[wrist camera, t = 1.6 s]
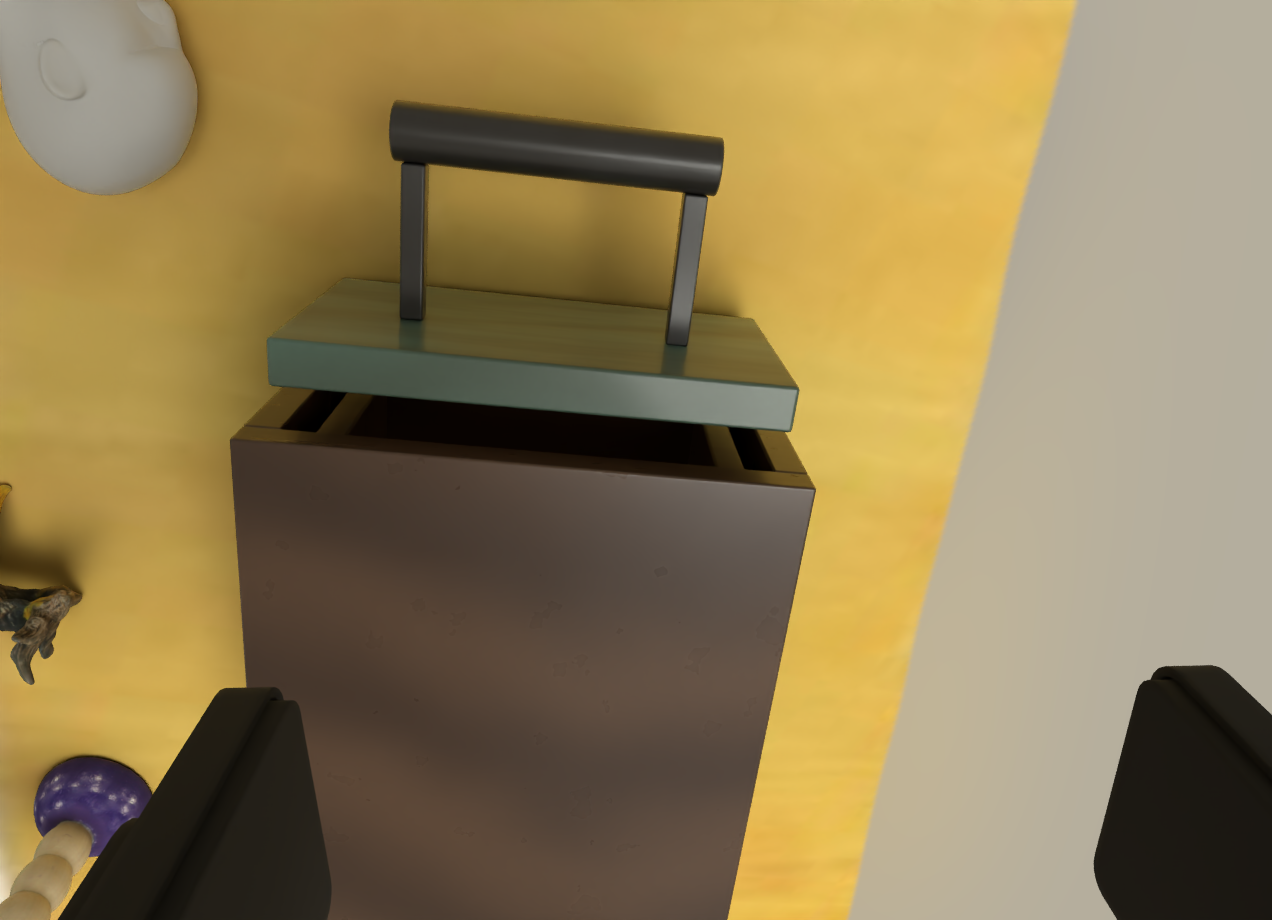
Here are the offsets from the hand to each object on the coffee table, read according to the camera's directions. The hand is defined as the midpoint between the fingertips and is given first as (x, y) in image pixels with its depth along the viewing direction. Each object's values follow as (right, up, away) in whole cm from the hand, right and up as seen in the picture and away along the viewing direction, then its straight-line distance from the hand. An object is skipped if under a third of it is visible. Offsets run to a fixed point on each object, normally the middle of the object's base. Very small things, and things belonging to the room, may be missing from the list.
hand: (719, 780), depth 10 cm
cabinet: (-5, 0, +22) cm, 23 cm away
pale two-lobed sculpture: (-16, +16, +15) cm, 27 cm away
